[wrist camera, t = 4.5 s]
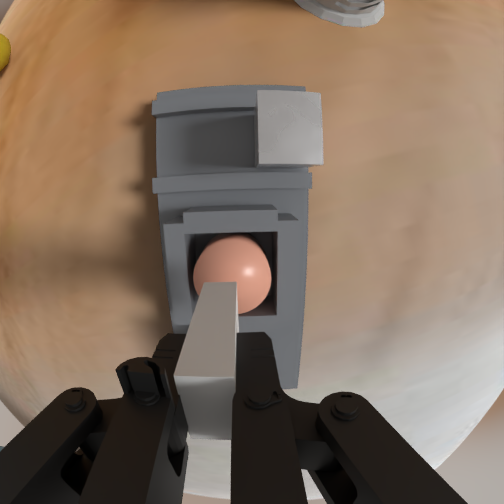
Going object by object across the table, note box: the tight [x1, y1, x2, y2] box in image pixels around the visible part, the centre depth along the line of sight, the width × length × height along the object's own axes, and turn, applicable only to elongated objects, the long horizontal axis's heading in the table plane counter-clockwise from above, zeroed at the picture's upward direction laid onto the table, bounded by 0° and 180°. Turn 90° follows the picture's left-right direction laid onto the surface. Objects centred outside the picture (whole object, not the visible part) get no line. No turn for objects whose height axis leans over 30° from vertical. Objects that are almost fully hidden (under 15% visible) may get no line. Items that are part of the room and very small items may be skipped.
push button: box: [193, 232, 271, 314], centre depth 17 cm, size 4×4×3 cm
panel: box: [152, 85, 312, 389], centre depth 18 cm, size 10×24×5 cm, turn 1°
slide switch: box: [254, 90, 323, 168], centre depth 14 cm, size 3×4×5 cm
